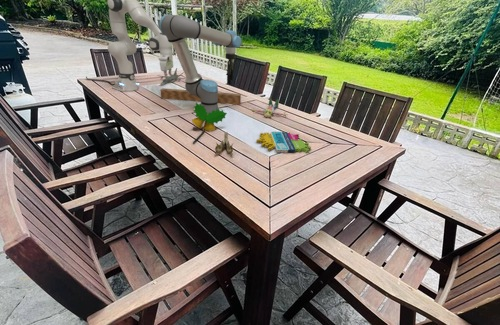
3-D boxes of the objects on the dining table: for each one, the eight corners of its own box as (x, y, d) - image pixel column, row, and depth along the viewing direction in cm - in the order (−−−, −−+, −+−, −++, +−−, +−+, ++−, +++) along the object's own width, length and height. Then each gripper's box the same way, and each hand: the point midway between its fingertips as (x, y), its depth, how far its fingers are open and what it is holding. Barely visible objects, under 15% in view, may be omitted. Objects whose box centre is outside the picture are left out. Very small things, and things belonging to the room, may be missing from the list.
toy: (291, 100, 208) (287, 111, 182) (290, 109, 211) (286, 120, 185) (257, 96, 213) (248, 105, 187) (256, 105, 216) (248, 115, 190)
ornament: (218, 133, 171) (224, 110, 169) (221, 134, 163) (227, 111, 161) (186, 125, 162) (192, 101, 160) (189, 126, 155) (195, 101, 153)
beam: (240, 102, 218) (240, 94, 214) (240, 104, 213) (240, 95, 209) (163, 97, 218) (162, 88, 215) (161, 98, 214) (160, 89, 210)
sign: (313, 150, 142) (258, 149, 139) (312, 153, 143) (258, 152, 140) (301, 132, 164) (254, 130, 161) (301, 134, 165) (254, 133, 162)
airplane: (151, 78, 274) (150, 68, 269) (181, 76, 288) (180, 67, 282) (158, 87, 246) (157, 77, 241) (191, 85, 259) (191, 75, 254)
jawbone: (234, 135, 144) (233, 125, 135) (233, 160, 138) (232, 151, 129) (217, 135, 144) (216, 125, 135) (216, 160, 138) (214, 150, 129)
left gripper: (166, 54, 209) (168, 72, 216) (157, 58, 191) (159, 77, 198) (174, 55, 209) (175, 73, 216) (166, 58, 191) (168, 78, 198)
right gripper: (227, 51, 208) (227, 78, 219) (223, 55, 187) (222, 85, 197) (237, 51, 208) (236, 79, 219) (233, 55, 187) (232, 85, 197)
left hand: (168, 75), depth 207 cm, fingers open, 8 cm apart
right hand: (229, 81), depth 208 cm, fingers open, 13 cm apart
